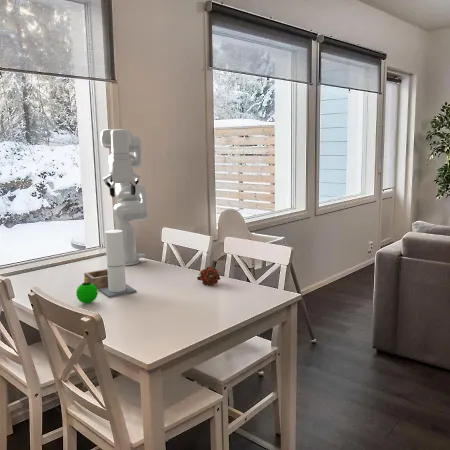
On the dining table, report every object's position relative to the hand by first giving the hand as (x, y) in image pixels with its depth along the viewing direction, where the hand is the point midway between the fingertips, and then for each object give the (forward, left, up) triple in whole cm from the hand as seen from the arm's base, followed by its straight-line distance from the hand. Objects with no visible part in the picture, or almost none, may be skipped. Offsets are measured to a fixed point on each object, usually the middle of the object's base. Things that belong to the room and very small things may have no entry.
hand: (123, 195), depth 216 cm
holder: (+14, +4, -38) cm, 41 cm away
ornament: (+27, +25, -38) cm, 53 cm away
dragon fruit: (-24, +33, -38) cm, 56 cm away
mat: (+12, +18, -38) cm, 44 cm away
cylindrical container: (+12, +18, -38) cm, 43 cm away
